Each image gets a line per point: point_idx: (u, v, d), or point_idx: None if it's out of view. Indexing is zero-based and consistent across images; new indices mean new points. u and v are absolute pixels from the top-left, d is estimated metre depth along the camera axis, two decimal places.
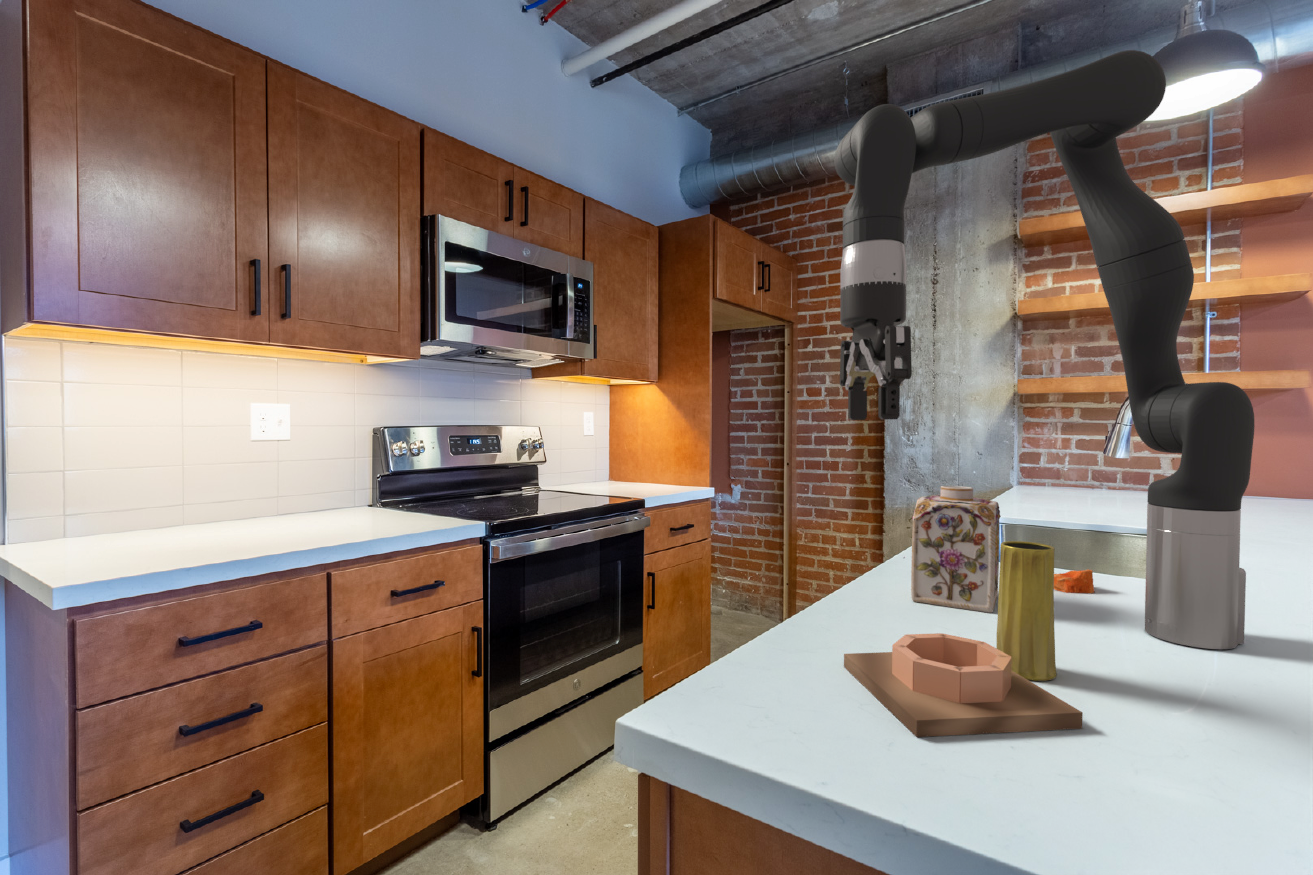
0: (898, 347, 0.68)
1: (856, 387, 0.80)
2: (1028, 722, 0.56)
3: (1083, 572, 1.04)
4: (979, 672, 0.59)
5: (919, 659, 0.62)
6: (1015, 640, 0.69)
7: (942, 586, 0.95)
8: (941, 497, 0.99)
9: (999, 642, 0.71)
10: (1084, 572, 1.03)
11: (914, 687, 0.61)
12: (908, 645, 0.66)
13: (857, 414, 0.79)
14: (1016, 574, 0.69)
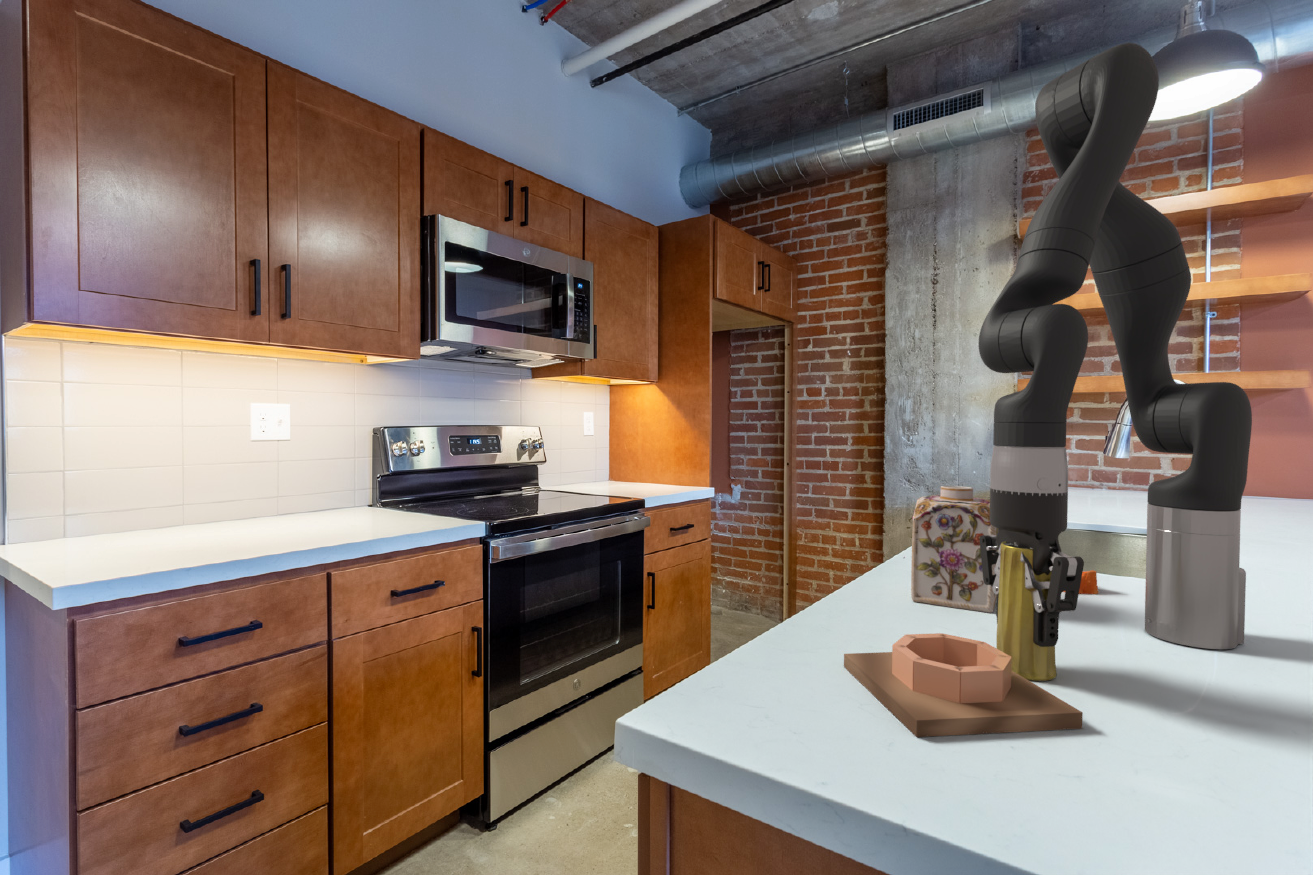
0: (1067, 582, 0.64)
1: None
2: (1028, 722, 0.56)
3: (1087, 573, 1.03)
4: (979, 672, 0.59)
5: (919, 659, 0.62)
6: (1016, 641, 0.69)
7: (942, 586, 0.95)
8: (941, 497, 0.99)
9: (999, 642, 0.71)
10: (1088, 573, 1.03)
11: (914, 687, 0.61)
12: (908, 645, 0.66)
13: None
14: (1016, 574, 0.69)
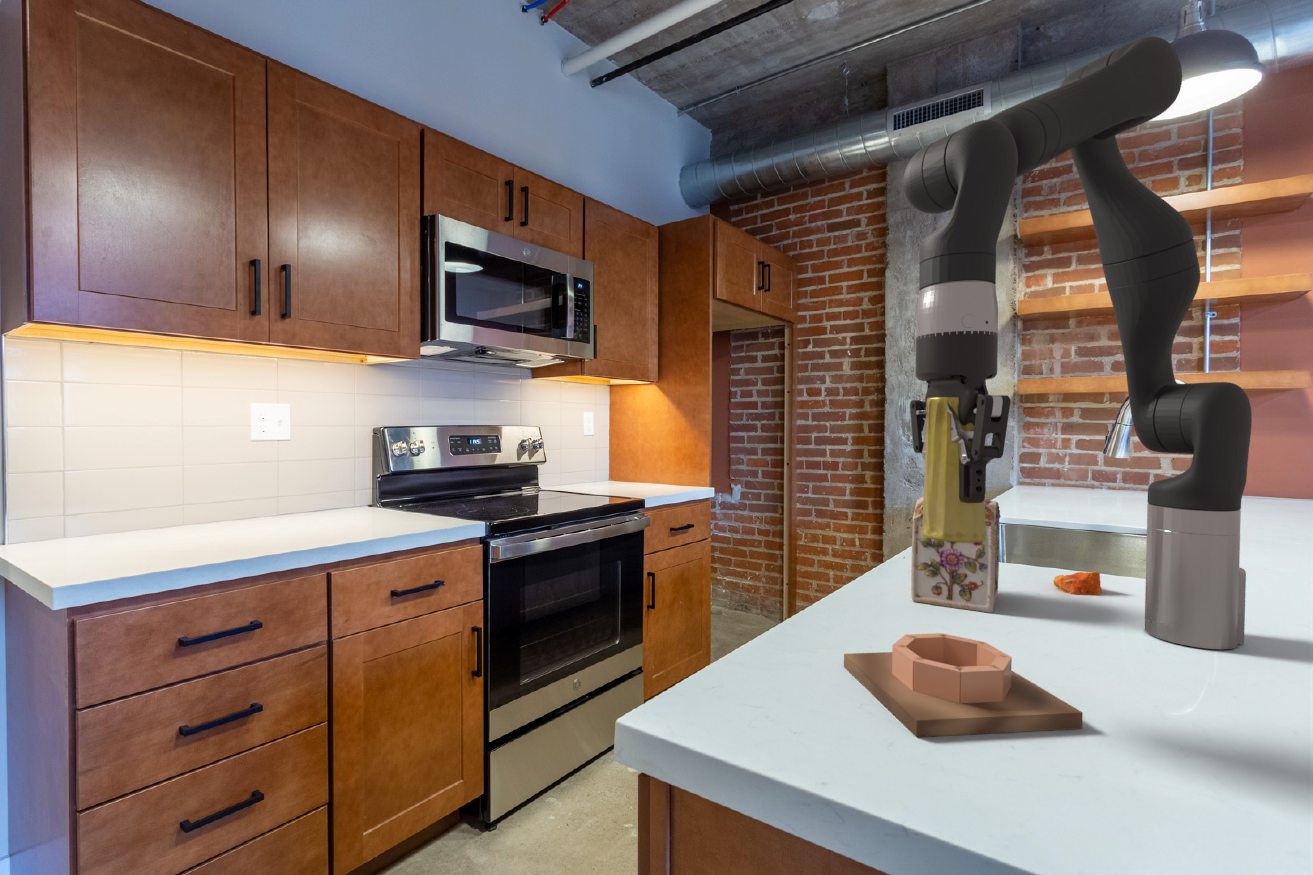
0: (992, 423, 0.57)
1: None
2: (1028, 722, 0.56)
3: (1090, 574, 1.02)
4: (979, 672, 0.59)
5: (919, 659, 0.62)
6: (940, 500, 0.62)
7: (942, 586, 0.95)
8: None
9: (925, 506, 0.64)
10: (1091, 574, 1.02)
11: (914, 687, 0.61)
12: (908, 645, 0.66)
13: None
14: (941, 427, 0.62)
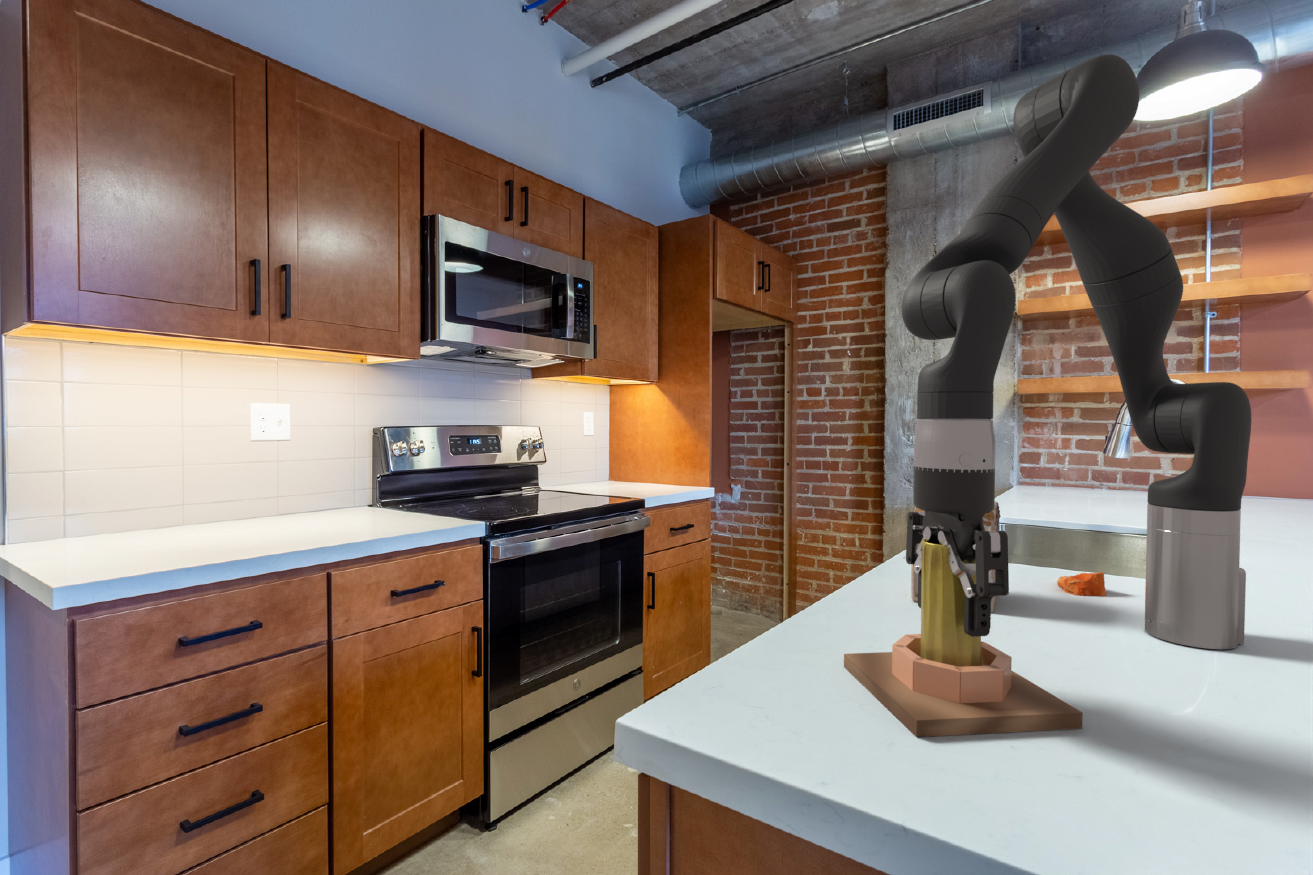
0: (993, 559, 0.57)
1: None
2: (1028, 722, 0.56)
3: (1094, 574, 1.02)
4: (979, 672, 0.59)
5: (919, 659, 0.62)
6: (938, 646, 0.62)
7: None
8: None
9: (922, 648, 0.64)
10: (1095, 574, 1.02)
11: (914, 687, 0.61)
12: (908, 645, 0.66)
13: None
14: (936, 573, 0.62)
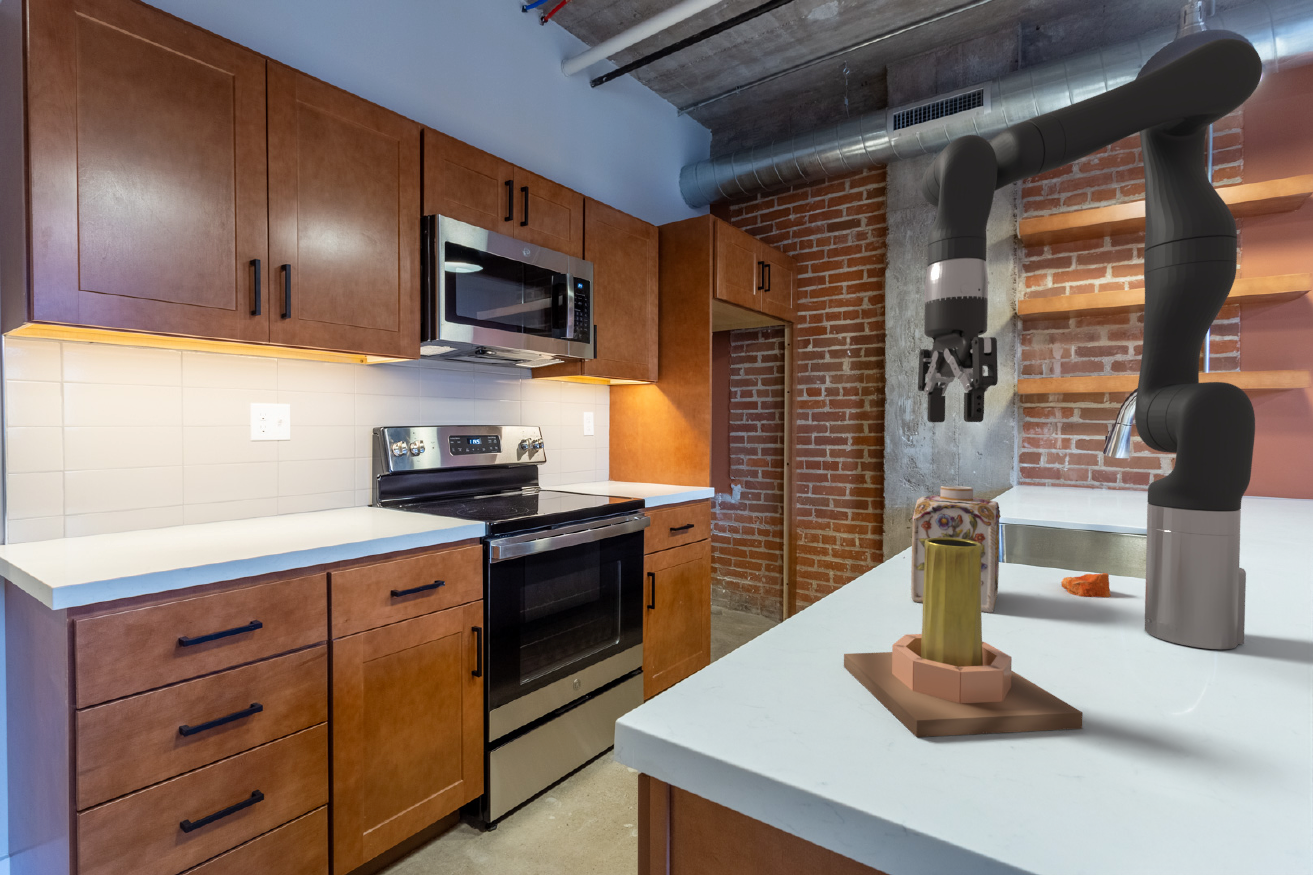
0: (986, 356, 0.75)
1: (935, 392, 0.86)
2: (1028, 722, 0.56)
3: (1099, 575, 1.01)
4: (979, 672, 0.59)
5: (919, 659, 0.62)
6: (939, 647, 0.62)
7: None
8: (941, 497, 0.99)
9: (923, 648, 0.64)
10: (1100, 575, 1.01)
11: (914, 687, 0.61)
12: (908, 645, 0.66)
13: (936, 417, 0.86)
14: (939, 573, 0.62)
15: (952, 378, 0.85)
